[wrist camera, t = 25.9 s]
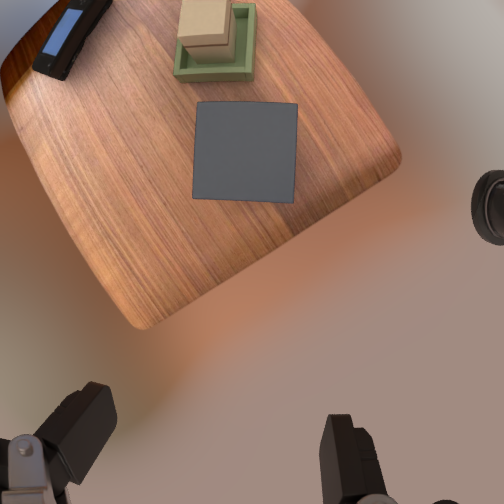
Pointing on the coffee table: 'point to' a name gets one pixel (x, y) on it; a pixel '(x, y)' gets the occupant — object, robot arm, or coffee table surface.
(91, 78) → the coffee table surface
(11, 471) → the robot arm
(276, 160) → the grey block
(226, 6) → the tan lidded box
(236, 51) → the socket
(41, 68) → the game console
